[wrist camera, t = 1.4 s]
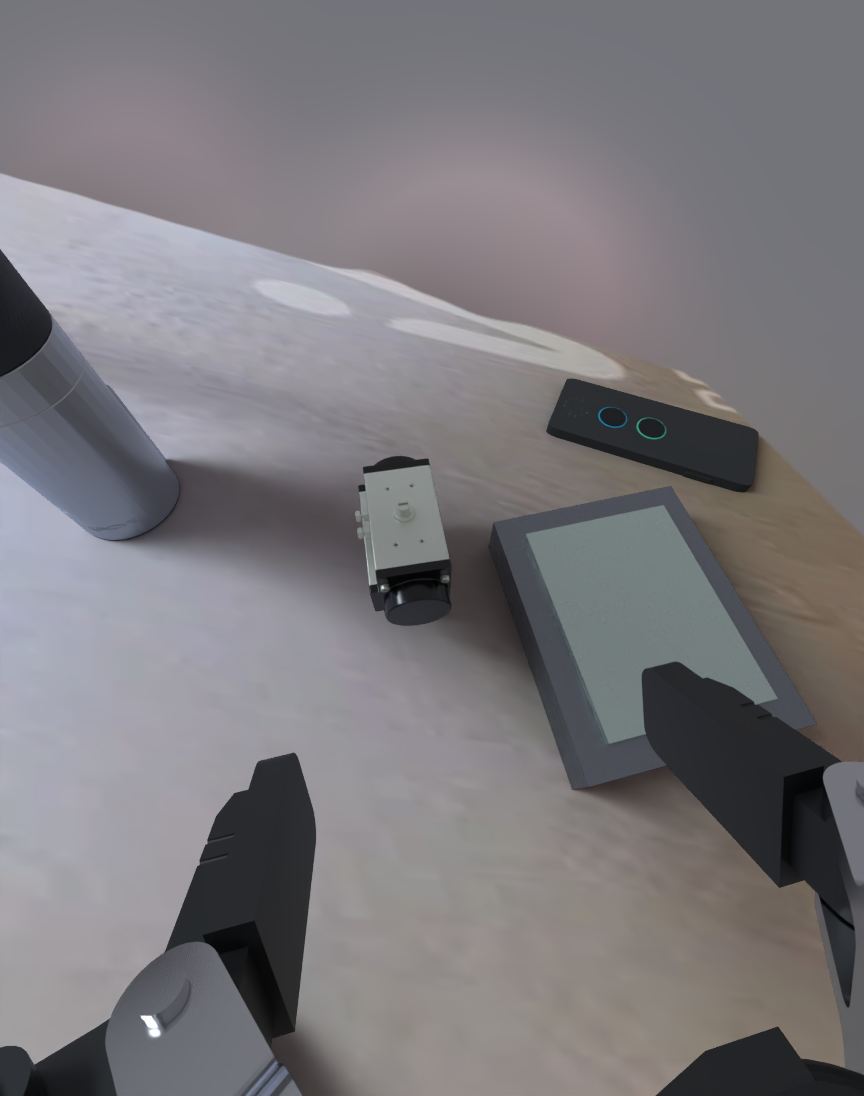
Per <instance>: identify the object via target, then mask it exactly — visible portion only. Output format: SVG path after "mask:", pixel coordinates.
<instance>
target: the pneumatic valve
mask: <svg viewBox="0 0 864 1096" xmlns="http://www.w3.org/2000/svg"><path fill="white" fill-rule="evenodd" d="M363 473H364V481H365V485H359V486H358V488H359V497H360V506H361V512H360V511H355V514H356V520H357V522H362V525H363V530H362V527H360V528H357V533H358V538H359V539H363V538H364V543H365V552H366V561H367V570H368V579H369V588H370V595H371V599H372V602H373V605H374V608H375V611H382V610H384V612H385V615H386V618H387V620H388V621H389V622H391V623H393V624H396V625H404V626H411V625H420V624H425V623H429V622H433V621H436V620H438V619H440V618H442V617H444V616H445V615H447V614H448V613H449V612H450V610H451V601H450V583H451V563H450V558H449V554H448V549H447V544H446V540H445V535H444V530H443V525H442V521H441V516H440V511H439V507H438V502H437V497H436V492H435V488H434V483H433V478H432V473H431V469H430V464H429V459H420V460H415V459H413V458H410V457H405V456H394V457H389V458H386V459H383V460H381V461H379V462H378V463H376V464H375V465H374V466H367V467H363ZM363 535H364V537H363Z"/></svg>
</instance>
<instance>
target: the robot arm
mask: <svg viewBox="0 0 864 1096" xmlns="http://www.w3.org/2000/svg"><path fill="white" fill-rule="evenodd" d="M0 462H1V463H3V464H4V465H5V466H6V467H8V468H9V469H10V470H11V471H13V472H14V473H15V474H16V475H18V476H19V477H20V478H21V479H23V480H24V481H25V482H26V483H28V484H29V485H30V486H31V487H33V488H34V489H35V490H36V491H37V492H39V493H40V494H41V495H42V496H44V497H45V498H46V499H47V500H49V501H50V502H51V503H52V504H54V505H55V506H56V507H57V508H58V509H60V510H61V511H62V512H64V513H65V514H66V515H67V516H69V517H70V518H71V519H72V520H74V521H75V522H76V523H77V524H79V525H80V526H81V527H82V528H84V529H85V530H86V531H87V532H89V533H90V534H92V535H94V536H95V537H98V538H102V539H107V540H120V539H127V538H131V537H134V536H138V535H140V534H142V533H144V532H147V531H149V530H150V529H152V528H153V527H155V526H156V525H158V524H159V523H160V522H161V521H162V520H164V519H165V518H166V517H167V516H168V514H169V513H170V512H171V511H172V509H173V508H174V506H175V504H176V502H177V499H178V496H179V482H178V478H177V477H176V475H175V474H174V472H173V471H172V470H171V468H170V467H169V466H168V464H167V463H166V458H165V457H164V456H163V454H162V453H161V452H160V451H159V449H158V448H157V447H156V445H155V444H154V443H153V441H152V440H151V439H150V437H149V436H148V435H147V434H146V432H145V431H144V430H143V428H142V427H141V426H140V424H139V423H138V422H137V421H136V419H135V418H134V417H133V415H132V414H131V413H130V411H129V410H128V409H127V408H126V406H125V405H124V404H123V402H122V401H121V400H120V398H119V397H118V396H117V395H116V393H115V392H114V391H113V389H112V388H111V387H110V386H108V385H106V384H105V383H104V382H103V381H102V379H101V378H100V377H99V375H98V374H97V373H96V372H95V370H94V369H93V368H92V366H91V365H90V364H89V363H88V361H87V360H86V359H85V357H84V356H83V355H82V354H81V352H80V351H79V350H78V349H77V348H76V346H75V345H74V344H73V342H72V341H71V340H70V338H69V337H68V336H67V335H66V333H65V332H64V331H63V329H62V328H61V327H60V326H59V324H58V323H57V322H56V320H55V319H54V318H53V317H52V315H51V314H50V313H49V311H48V310H47V309H46V307H45V306H44V305H43V304H42V302H41V301H40V300H39V299H38V297H37V296H36V295H35V293H34V292H33V291H32V290H31V288H30V287H29V286H28V285H27V283H26V282H25V281H24V279H23V278H22V277H21V275H20V274H19V273H18V272H17V270H16V269H15V268H14V266H13V265H12V264H11V263H10V261H9V260H8V259H7V257H6V256H5V255H4V253H3V252H2V251H1V250H0ZM642 697H643V716H644V728H645V732H646V736H647V738H648V741H649V743H650V745H651V747H652V748H653V750H654V751H655V753H656V754H657V755H658V756H659V757H660V759H661V760H662V761H663V762H664V763H665V764H666V765H667V766H668V767H669V768H670V769H671V771H672V772H673V773H674V774H675V775H676V776H677V777H678V778H679V779H680V780H681V781H682V783H683V784H684V785H685V786H686V787H687V788H688V789H689V790H690V791H691V792H692V793H693V794H694V796H695V797H696V798H697V799H698V800H699V801H700V802H701V803H702V804H703V805H704V806H705V808H706V809H707V810H708V811H709V812H710V813H711V814H712V815H713V816H714V817H715V818H716V819H717V821H718V822H719V823H720V824H721V825H722V826H723V827H724V828H725V829H726V830H727V831H728V833H729V834H730V835H731V836H732V837H733V838H734V839H735V840H736V841H737V842H738V843H739V844H740V846H741V847H742V848H743V849H744V850H745V851H746V852H747V853H748V854H749V855H750V856H751V858H752V859H753V860H754V861H755V862H756V863H757V864H758V865H759V866H760V867H761V868H762V870H763V871H764V872H765V873H766V874H767V875H768V876H769V877H770V878H771V879H772V880H773V881H774V883H775V884H776V885H777V886H778V887H779V888H780V887H783V886H787V885H790V884H793V883H797V882H800V881H803V880H805V881H806V882H807V883H808V884H809V885H810V886H811V887H812V888H813V889H814V890H815V901H814V902H815V909H816V914H817V918H818V923H819V927H820V932H821V936H822V941H823V945H824V950H825V954H826V959H827V963H828V968H829V972H830V977H831V981H832V986H833V990H834V995H835V999H836V1004H837V1008H838V1013H839V1017H840V1022H841V1028H842V1035H843V1043H844V1058H845V1068H842V1067H839V1066H836V1065H833V1064H829V1063H824V1062H819V1061H814V1060H809V1059H801V1058H800V1057H799V1056H798V1054H797V1053H796V1051H795V1050H794V1048H793V1047H792V1046H791V1044H790V1043H789V1041H788V1040H787V1038H786V1037H785V1036H784V1034H783V1033H782V1031H781V1030H780V1028H779V1027H775V1028H772V1029H769V1030H766V1031H764V1032H761V1033H758V1034H755V1035H752V1036H749V1037H746V1038H743V1039H740V1040H737V1041H734V1042H731V1043H728V1044H725V1045H722V1046H719V1047H716V1048H713V1049H710V1050H707V1051H705V1052H704V1053H703V1054H701V1055H700V1056H699V1057H698V1058H697V1059H696V1060H695V1061H694V1062H693V1063H692V1064H690V1065H689V1066H688V1067H687V1068H686V1069H685V1070H684V1071H683V1072H682V1073H680V1074H679V1075H678V1076H677V1077H676V1078H675V1079H674V1080H673V1081H672V1082H670V1083H669V1084H668V1085H667V1086H666V1087H665V1088H664V1089H663V1090H662V1091H660V1092H659V1093H658V1094H657V1095H656V1096H864V762H851V761H849V762H842V761H840V760H839V759H837V758H836V757H834V756H833V755H831V754H830V753H829V752H827V751H826V750H824V749H823V748H821V747H820V746H818V745H817V744H815V743H814V742H812V741H811V740H810V739H808V738H807V737H805V736H804V735H802V734H801V733H799V732H798V731H796V730H795V729H793V728H792V727H791V726H789V725H788V724H786V723H785V722H783V721H782V720H780V719H779V718H777V717H773V716H772V714H771V713H770V712H769V711H767V710H766V709H764V708H763V707H761V706H760V705H755V703H754V701H752V700H751V699H750V698H748V697H747V696H745V695H744V694H742V693H741V692H739V691H738V690H736V689H735V688H733V687H731V686H728V685H726V684H723V683H721V682H718V681H715V680H713V679H710V678H708V677H707V678H701V677H700V676H699V675H697V674H696V673H694V672H693V671H692V670H690V669H689V668H687V667H686V666H685V665H683V664H682V663H680V662H676V661H675V662H671V663H667V664H663V665H658V666H654V667H650V668H646V669H644V670H643V672H642ZM207 841H208V844H207V845H205V847H204V850H203V853H202V855H201V858H200V865H199V866H197V869H196V871H195V874H194V876H193V879H192V882H191V884H190V887H189V890H188V892H187V895H186V898H185V900H184V903H183V906H182V908H181V911H180V913H179V916H178V919H177V921H176V924H175V927H174V929H173V932H172V935H171V937H170V940H169V942H168V945H167V948H166V950H165V952H164V953H163V954H162V955H160V956H159V957H158V958H156V959H155V960H153V961H152V962H151V963H150V964H149V965H148V966H146V967H145V968H144V969H143V970H142V971H141V972H140V973H139V974H138V975H137V976H136V978H135V979H134V980H133V981H132V982H131V984H130V985H129V986H128V987H127V989H126V990H125V992H124V993H123V995H122V996H121V998H120V999H119V1001H118V1003H117V1005H116V1006H115V1008H114V1010H113V1013H112V1015H111V1018H110V1019H108V1020H107V1021H105V1022H104V1023H102V1024H101V1025H99V1026H98V1027H96V1028H95V1029H93V1030H91V1031H90V1032H88V1033H86V1034H85V1035H83V1036H81V1037H80V1038H78V1039H76V1040H75V1041H73V1042H71V1043H70V1044H68V1045H67V1046H65V1047H63V1048H62V1049H60V1050H58V1051H57V1052H55V1053H53V1054H52V1055H50V1056H48V1057H47V1058H45V1059H43V1060H42V1061H40V1062H38V1063H37V1064H35V1065H34V1063H33V1062H32V1060H31V1058H30V1057H29V1055H28V1053H27V1052H26V1051H25V1050H24V1049H22V1048H21V1047H17V1046H5V1047H1V1048H0V1096H302V1095H301V1093H300V1091H299V1089H298V1087H297V1086H296V1084H295V1082H294V1080H293V1079H292V1077H291V1075H290V1074H289V1072H288V1071H287V1069H286V1068H285V1066H284V1065H283V1064H282V1063H281V1064H280V1065H279V1063H278V1062H277V1060H276V1058H275V1057H274V1055H273V1053H272V1051H271V1042H272V1038H275V1037H278V1036H281V1035H285V1034H288V1033H291V1032H295V1024H296V1015H297V1007H298V998H299V989H300V980H301V971H302V962H303V953H304V944H305V935H306V926H307V917H308V908H309V899H310V890H311V881H312V872H313V863H314V854H315V845H316V825H315V817H314V811H313V807H312V804H311V800H310V797H309V794H308V790H307V787H306V783H305V780H304V776H303V773H302V770H301V766H300V763H299V760H298V757H297V755H296V754H295V753H290V754H286V755H282V756H278V757H274V758H270V759H266V760H261V761H259V762H258V763H257V765H256V767H255V770H254V774H253V777H252V780H251V783H250V786H249V789H248V790H245V791H241V792H237V793H234V794H233V796H232V797H231V798H230V799H229V801H228V802H227V803H226V804H225V806H224V807H223V808H222V810H221V811H220V812H219V813H218V815H217V816H216V818H215V821H214V824H213V826H212V829H211V832H210V834H209V837H208V840H207Z"/></svg>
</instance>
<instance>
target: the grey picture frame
mask: <svg viewBox="0 0 864 1096" xmlns="http://www.w3.org/2000/svg"><path fill="white" fill-rule="evenodd" d="M489 548H490V551H491V554H492V557H493V560H494V563H495V566H496V569H497V572H498V574H499V577H500V580H501V583H502V586H503V589H504V592H505V595H506V598H507V601H508V604H509V606H510V609H511V612H512V615H513V618H514V621H515V624H516V627H517V630H518V633H519V636H520V638H521V641H522V644H523V647H524V650H525V653H526V656H527V659H528V662H529V665H530V668H531V671H532V673H533V676H534V679H535V682H536V685H537V688H538V691H539V694H540V697H541V700H542V703H543V705H544V708H545V711H546V714H547V717H548V720H549V723H550V726H551V729H552V732H553V735H554V738H555V740H556V743H557V746H558V749H559V752H560V755H561V758H562V761H563V764H564V767H565V770H566V772H567V775H568V778H569V781H570V784H571V787H572V789H579V788H586V787H591V786H595V785H598V784H602V783H605V782H609V781H613V780H616V779H620V778H623V777H627V776H631V775H634V774H638V773H641V772H645V771H649V770H652V769H656V768H659V767H663V766H667V765H666V764H665V763H664V762H663V761H662V760H661V759H660V757H659V756H658V755H657V754H656V753H655V751H654V750H653V748H652V747H651V745H650V743H649V741H648V738H647V736H646V732H645V728H644V716H643V697H642V672H643V670H644V669H646V668H650V667H654V666H658V665H663V664H667V663H671V662H675V661H676V662H680V663H682V664H683V665H685V666H686V667H687V668H689V669H690V670H692V671H693V672H694V673H696V674H697V675H699V676H700V677H701V678H707V677H708V678H710V679H713V680H715V681H718V682H721V683H723V684H726V685H728V686H731V687H733V688H735V689H736V690H738V691H739V692H741V693H742V694H744V695H745V696H747V697H748V698H750V699H751V700H752V701H754V703H755V705H760V706H761V707H763V708H764V709H766V710H767V711H769V712H770V713H771V714H772V716H773V717H777V718H779V719H780V720H782V721H783V722H785V723H786V724H788V725H789V726H791V727H792V728H793V729H795V730H797V729H800V728H804V727H807V726H811V725H815V724H817V723H816V721H815V719H814V718H813V716H812V715H811V713H810V711H809V710H808V708H807V706H806V705H805V703H804V702H803V700H802V698H801V697H800V695H799V693H798V692H797V690H796V689H795V687H794V685H793V684H792V682H791V680H790V679H789V677H788V676H787V674H786V672H785V671H784V669H783V667H782V666H781V664H780V663H779V661H778V659H777V658H776V656H775V654H774V653H773V651H772V650H771V648H770V646H769V645H768V643H767V641H766V640H765V638H764V637H763V635H762V633H761V632H760V630H759V628H758V627H757V625H756V623H755V622H754V620H753V619H752V617H751V615H750V614H749V612H748V610H747V609H746V607H745V606H744V604H743V602H742V601H741V599H740V597H739V596H738V594H737V593H736V591H735V589H734V588H733V586H732V584H731V583H730V581H729V580H728V578H727V576H726V575H725V573H724V571H723V570H722V568H721V567H720V565H719V563H718V562H717V560H716V558H715V557H714V555H713V554H712V552H711V550H710V549H709V547H708V545H707V544H706V542H705V541H704V539H703V537H702V536H701V534H700V532H699V531H698V529H697V528H696V526H695V524H694V523H693V521H692V519H691V518H690V516H689V515H688V513H687V511H686V510H685V508H684V506H683V505H682V503H681V502H680V500H679V498H678V497H677V495H676V493H675V492H674V490H673V489H672V487H671V486H668V487H664V488H659V489H654V490H649V491H644V492H639V493H634V494H630V495H625V496H620V497H615V498H610V499H605V500H600V501H596V502H591V503H586V504H581V505H576V506H571V507H566V508H562V509H557V510H552V511H547V512H542V513H537V514H532V515H528V516H523V517H518V518H513V519H508V520H503V521H498V522H494V524H493V529H492V534H491V539H490V543H489Z"/></svg>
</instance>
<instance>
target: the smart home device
mask: <svg viewBox="0 0 864 1096" xmlns="http://www.w3.org/2000/svg"><path fill="white" fill-rule="evenodd" d="M546 431H547V433H548V434H550V435H552V436H554V437H557V438H560V439H564V440H567V441H570V442H574V443H577V444H580V445H584V446H587V447H590V448H593V449H597V450H600V451H603V452H607V453H610V454H613V455H617V456H620V457H623V458H626V459H630V460H633V461H636V462H640V463H643V464H646V465H650V466H653V467H656V468H659V469H663V470H666V471H669V472H673V473H676V474H679V475H683V476H685V477H689V478H692V479H695V480H699V481H702V482H705V483H708V484H712V485H716V486H719V487H722V488H725V489H729V490H732V491H736V492H745V491H746V490H747V489H748V488H749V487H750V486H751V485H752V484H753V479H754V470H755V461H756V452H757V443H758V432H757V431H756V430H755V429H753V428H750V427H747V426H744V425H740V424H736V423H733V422H729V421H725V420H722V419H718V418H715V417H711V416H707V415H704V414H700V413H697V412H693V411H689V410H686V409H682V408H679V407H675V406H671V405H668V404H664V403H660V402H657V401H653V400H650V399H646V398H642V397H639V396H635V395H632V394H628V393H624V392H621V391H617V390H613V389H610V388H606V387H603V386H599V385H595V384H592V383H588V382H585V381H581V380H577V379H567V380H566V383H565V385H564V387H563V390H562V392H561V395H560V397H559V399H558V402H557V404H556V407H555V409H554V411H553V414H552V416H551V419H550V421H549V424H548V427H547V430H546Z"/></svg>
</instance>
